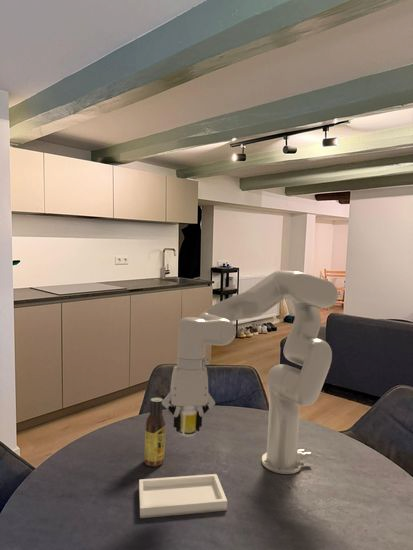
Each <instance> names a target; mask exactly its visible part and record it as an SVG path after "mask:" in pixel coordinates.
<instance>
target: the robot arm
mask: <svg viewBox="0 0 413 550" xmlns="http://www.w3.org/2000/svg"><path fill="white" fill-rule="evenodd" d="M338 296H339V293H338V289H337V287H336V285H335V284H334V283H333V282H331V280H328V279H324V278H320V277H318V276H315V275H312V274H308V273H305V272H302V271H296V270H295V271H294V270H276V271H274V272H272V273H270V274H268V275H267V276H266V277H264V278H263V279H262V280H260V281H259V282H258V283H256V284H255V285H252V286H251V287H250V288H249V289H247V290H245V291H243V292H241V293H239V294H235V295H233V296H231V297H228V298H225V299H224V300H221V301H218V302H216V303H215V304H213V305H212V306H210V307H209V308H207V309H206V310H205V311H202V312H201V313H200V314H199V316H197V317H195V316H186V317H182V318H181V319H180V320H179V323H178V337H177V338H178V339H177V357H176V358H177V359H176V365H175V366H174V367H173V370H172V374H171V381H170V389H169V392H168V394H166V396H165V397H164V399H163V401H162V407H164V408H166V409H167V410H168V411H169V412H170V413H171V414H172V415H173V428H175V430H176V433H179V429H180V416H179V413H180V409H181V406H196V410H197V422H196V432H200V428H202V426H203V417H204V415H205V414H206V413H207V412H208V411H209V410H210V409H211V408H212V407H213V406H215V405H216V401H215V400H214V399H213V397H212V396H211V393H210V392H209V380H208V379H209V378H208V377H209V376H208V369H207V367H206V366H207V365H210V364H211V359H210V358H206V346H207V345H212V346H226V345H229V344H231V343H232V342H233V341H234V340H235V338H236V336H237V329H236V326H235V324H234V323H233V322H234V321H238V320H245V319H252V318H257V317H261V316H263V315H265V313H267V312H269V311H270V310H271V309H272V308H274V307H275V306H277V305H278V304H279V303H280V302H282V301H283V300H290V301H292V303H293V307H294V312H295V313H294V319H293V322H292V325H291V328H290V331H289V333H288V335H287V337H286V341H285V344H284V346H283V356H284V358H285V359H286V360H288V361H289V362H291V363H294V364H295V365H299V366H302V367H301V369H299V368H297V367H293V366H290V365H288V364H283V363H282V364H281V363H279V364H275V365H273V366H272V367H271V368H270V369H269V371H268V374H267V376H266V377H267V378H266V379H267V380H266V383H267V384H266V385H267V392H268V422H267V423H268V424H267V440H266V441H267V443H266V452H265V453H263V454H262V456H261V464H262V466H264V467H265V469H267V470H269V471H271V472H273V473H276V474H281V475H293V474H296V473H299V472H300V471H301V470H302V467H303V463H302V461H303V460H304V459H312V458H313V455H312V452H311V451H306V452H305V449H304V448H303V449H301V448H300V449H298V448H299V446H298V445H299V430H300V429H299V426H300V425H299V424H300V406H303V407H309V406H312V405H313V404H314V403H315V402H316V401H317V400H318V398H319V396H320V395H321V392H322V390H323V389H322V388H323V386H324V384H325V380H326V378H327V375H328V373H329V370H330V368H331V364H332V361H333V359H332V358H333V351H332V348H331V346H330V345H329V343H328V342H327V341H326V340H323V339H321V338H318V335H319V332H320V330H321V324H322V317H321V314H320V311H319V309H328V308H329V309H330V308H331V307H333V306H334V305H335V304H336V303H337V300H338ZM318 308H319V309H318ZM170 402H171V403H170Z"/></svg>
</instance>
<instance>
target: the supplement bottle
mask: <svg viewBox="0 0 413 550" xmlns="http://www.w3.org/2000/svg"><path fill="white" fill-rule="evenodd" d="M197 411H198V410H197V406H181V409H180V412H179V416H180V429H179V432H178V434H179V435H180V436H183V437H193V436H195V435H196V433H197V430H196V422H197Z"/></svg>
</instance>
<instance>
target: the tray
mask: <svg viewBox="0 0 413 550" xmlns="http://www.w3.org/2000/svg"><path fill="white" fill-rule="evenodd" d="M138 482H139V483H138V496H139V499H138V500H139V519H146V518H148V519H149V518H158V517H169V516H171V517H172V516H181V515H191V514H193V515H194V514H201V513H213V512H222V511H223V512H224V511H225V512H226V511H228V499H227V497H226V494H225V491H224V489H223V487H222V484H221V482H220V479H219V477H218V474H217V473H213V474H211V473H209V474H196V475H185V476H184V475H182V476H172V477H171V476H170V477H169V476H168V477H156V478H153V477H152V478H144V479H143V478H142V479H139V481H138Z"/></svg>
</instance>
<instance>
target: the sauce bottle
mask: <svg viewBox="0 0 413 550" xmlns="http://www.w3.org/2000/svg"><path fill="white" fill-rule="evenodd" d="M163 400H164V399H163V398H161V397H152V398H150V401H149V406H150V409H149V415H148V416H147V418H146V422H145V431H144V451H143V452H144V454H143V458H144V464H145V465H146V466H148V467H152V468H153V467H158V466H159V467H160V466H161V465H163V463H164V459H165V451H166V449H165V443H166V426H167V424H166V421H165V418H164V414H163V405H162V401H163Z"/></svg>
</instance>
